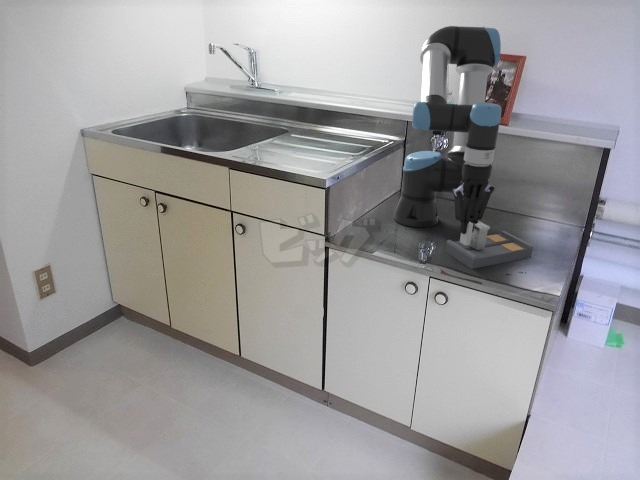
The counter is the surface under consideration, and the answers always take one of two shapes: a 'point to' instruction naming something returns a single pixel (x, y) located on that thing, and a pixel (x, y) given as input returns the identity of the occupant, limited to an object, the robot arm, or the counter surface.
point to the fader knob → (479, 236)
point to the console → (490, 251)
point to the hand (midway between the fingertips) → (464, 243)
